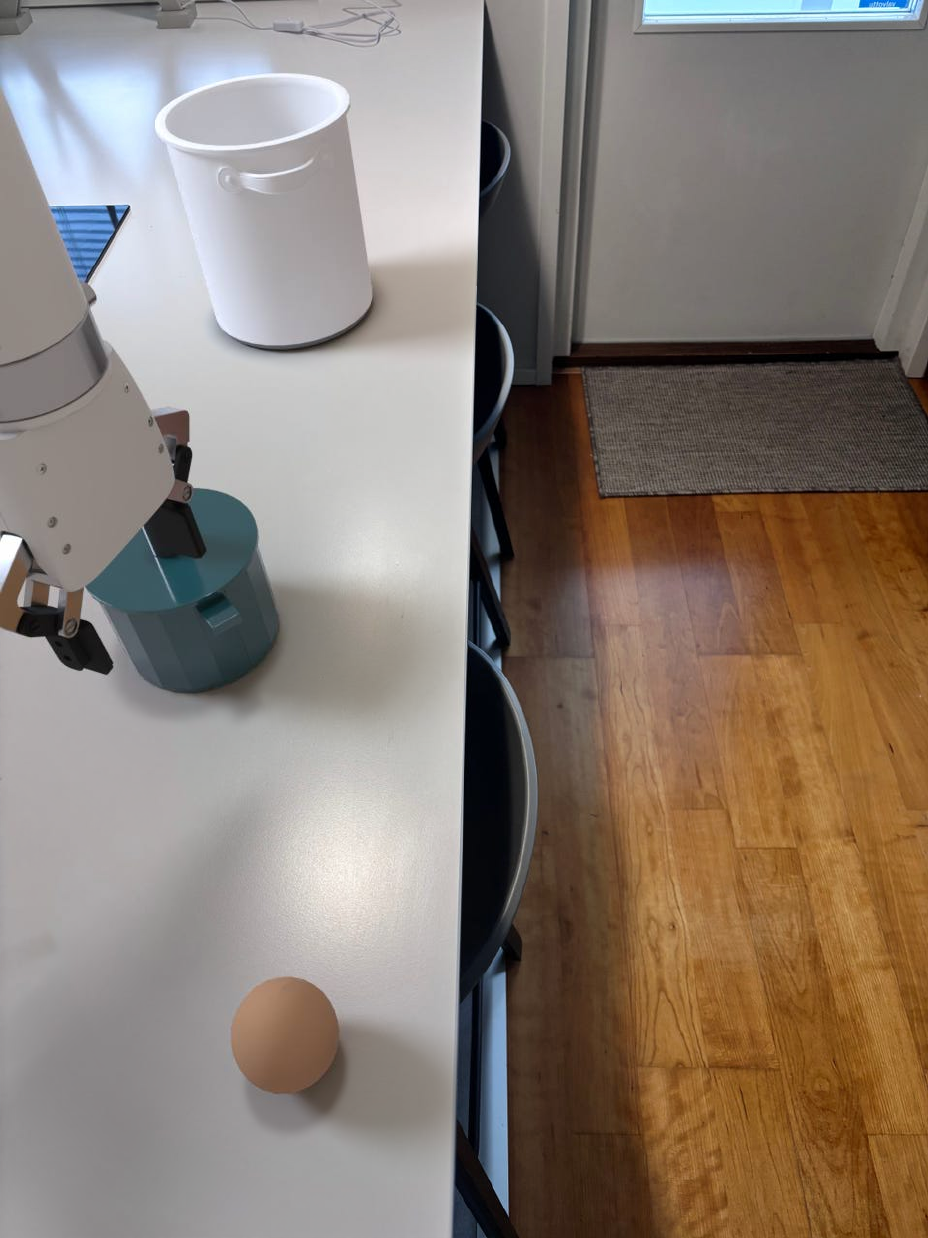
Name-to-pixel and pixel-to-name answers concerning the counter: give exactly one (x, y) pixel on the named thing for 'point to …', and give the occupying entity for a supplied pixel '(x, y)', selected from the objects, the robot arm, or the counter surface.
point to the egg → (284, 1035)
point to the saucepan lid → (181, 561)
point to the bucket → (272, 205)
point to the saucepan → (203, 636)
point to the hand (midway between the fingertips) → (139, 605)
